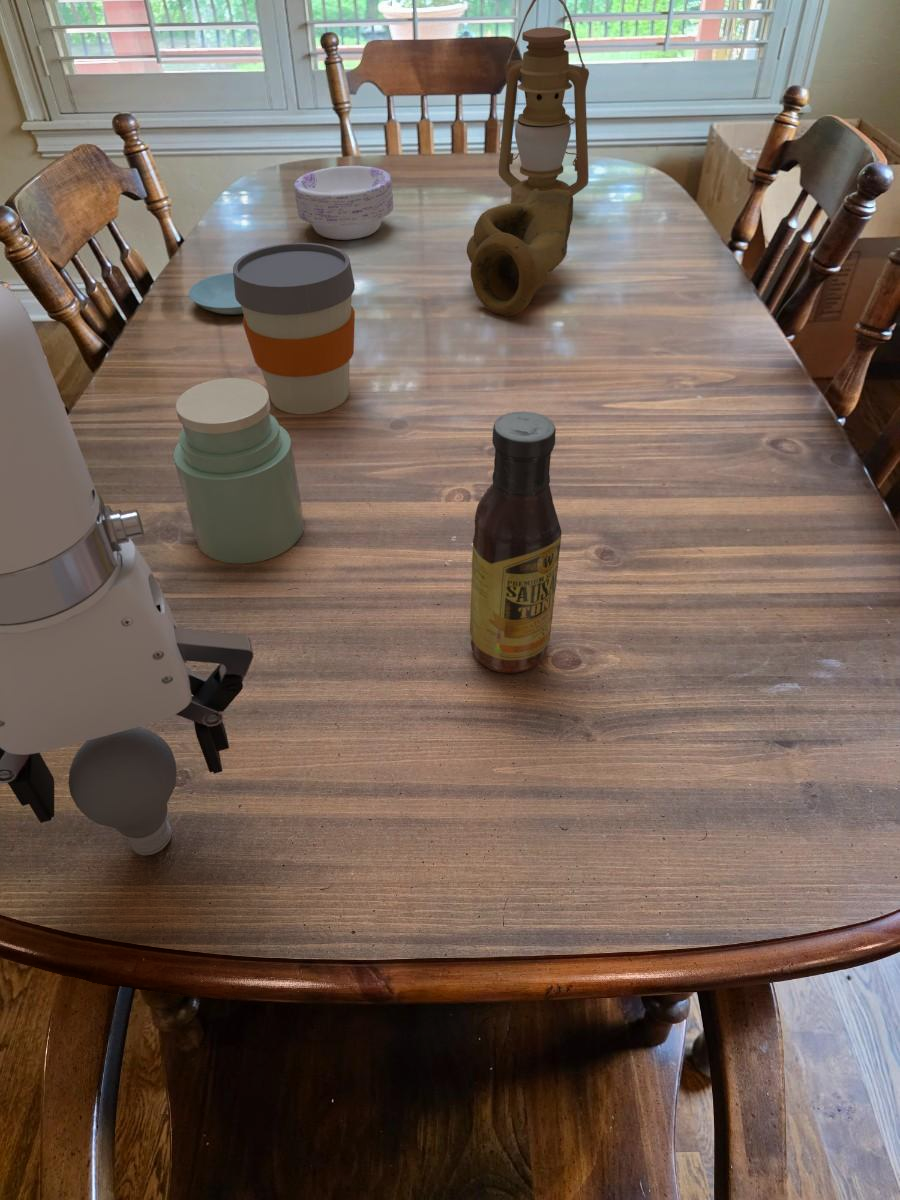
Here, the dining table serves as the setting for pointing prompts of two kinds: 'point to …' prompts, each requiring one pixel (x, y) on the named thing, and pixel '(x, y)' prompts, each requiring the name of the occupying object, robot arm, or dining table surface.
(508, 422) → the sauce bottle
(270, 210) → the dining table surface
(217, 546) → the green lidded jar
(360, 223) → the paper bowls
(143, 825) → the light bulb
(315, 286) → the reusable coffee cup
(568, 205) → the brown looped sculpture
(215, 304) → the saucer
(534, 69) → the lantern
